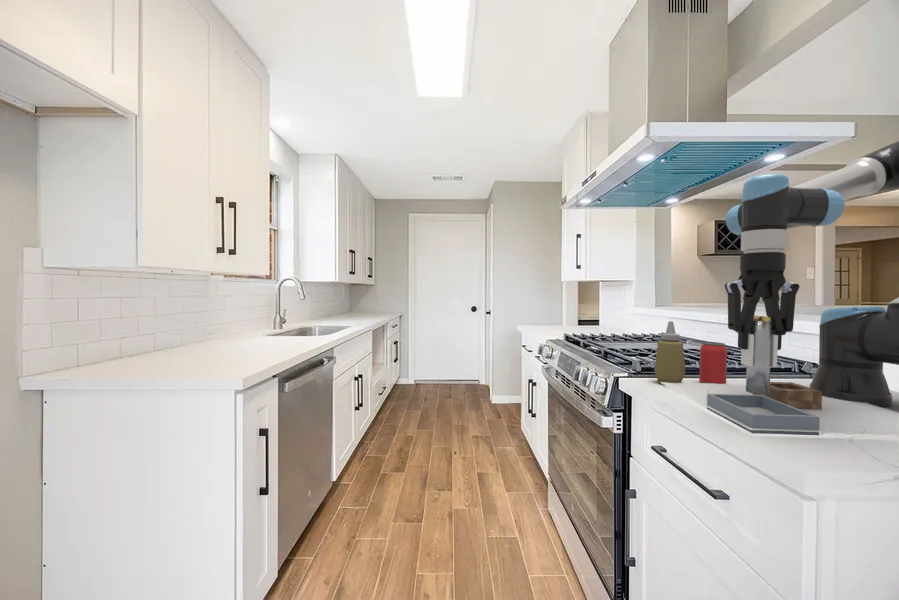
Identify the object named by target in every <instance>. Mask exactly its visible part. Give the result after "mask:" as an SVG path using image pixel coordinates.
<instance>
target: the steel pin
mask: <svg viewBox="0 0 899 600" xmlns="http://www.w3.org/2000/svg"><path fill="white" fill-rule="evenodd" d="M749 334H753V335H754V350H753V366H747V365H745V366H746V371H745V372H746V373H745V392H747V393H750V394H752V393H753V394H761V395H768V394H770V382H771V366H770V365H771V336H772V321H771V318H770V317H767V316H764V315H763V316H762V315H754V318H753V322H752V326H751V330H750V333H749Z"/></svg>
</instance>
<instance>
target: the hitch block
mask: <svg viewBox="0 0 899 600" xmlns="http://www.w3.org/2000/svg"><path fill="white" fill-rule="evenodd" d="M751 395H761V394H753V393H751ZM763 396H766V397H769V398H771V399H774V400H776V401H779V402H782V403H784V404H787V405H790V406H792V407H795V408H797V409H800V410H812V411H813V410H814V411H815V410H816V411H817V410H819V411H821V410H822V409H823V408H822V406H823V396H822V391H818V390H815V389H812V388H809V386H805V385H803V384H802V385H801V384H799V383H796V382H795V383H794V382H792V381H791V382H790V381H789V382H787V381H785V382H783V381H782V382H781V381H770V394H768V395H763Z"/></svg>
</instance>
